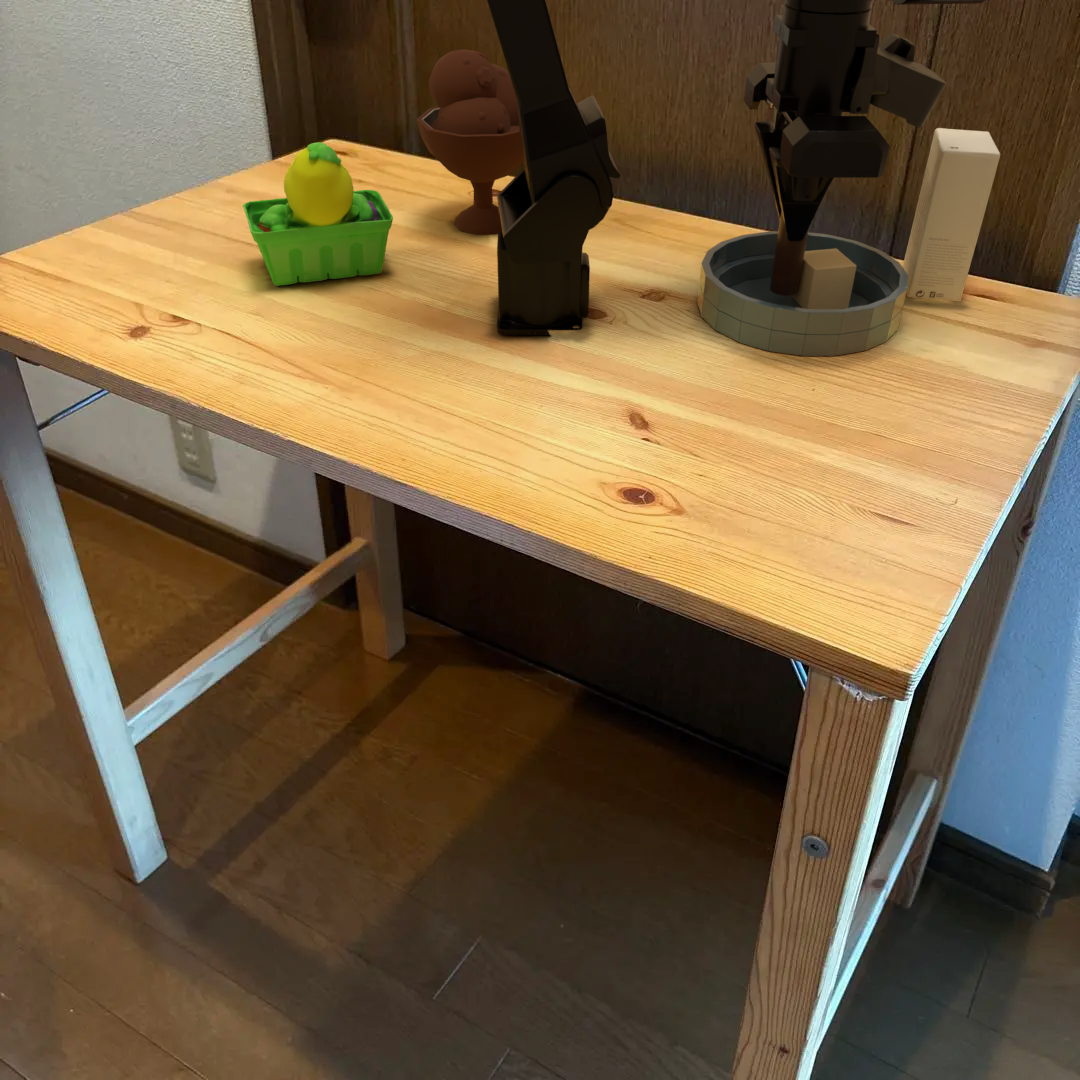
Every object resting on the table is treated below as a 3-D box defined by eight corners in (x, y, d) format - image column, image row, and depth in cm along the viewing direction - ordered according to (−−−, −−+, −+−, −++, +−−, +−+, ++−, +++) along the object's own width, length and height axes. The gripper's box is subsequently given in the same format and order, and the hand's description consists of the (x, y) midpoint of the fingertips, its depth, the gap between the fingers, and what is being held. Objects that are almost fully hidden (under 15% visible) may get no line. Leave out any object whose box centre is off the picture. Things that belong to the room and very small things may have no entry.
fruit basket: (381, 244, 92) (369, 112, 85) (403, 283, 86) (391, 143, 79) (251, 260, 89) (227, 124, 83) (263, 301, 83) (238, 158, 76)
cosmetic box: (960, 308, 82) (1002, 154, 75) (905, 303, 83) (941, 150, 75) (952, 277, 87) (990, 129, 80) (899, 273, 88) (933, 126, 80)
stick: (772, 296, 80) (794, 150, 73) (766, 284, 82) (788, 141, 75) (800, 296, 80) (825, 151, 73) (794, 284, 82) (818, 141, 75)
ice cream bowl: (502, 254, 90) (498, 71, 81) (401, 229, 95) (386, 53, 86) (564, 217, 98) (567, 44, 88) (467, 195, 102) (460, 29, 93)
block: (806, 312, 80) (814, 269, 78) (788, 293, 83) (795, 251, 81) (848, 308, 81) (857, 265, 79) (828, 290, 83) (836, 248, 81)
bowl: (712, 363, 75) (718, 312, 72) (686, 277, 87) (691, 231, 84) (922, 363, 75) (935, 312, 72) (867, 277, 87) (877, 230, 84)
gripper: (999, 37, 61) (936, 285, 71) (907, -20, 76) (866, 191, 86) (811, 37, 61) (774, 285, 71) (756, -20, 76) (731, 192, 86)
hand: (791, 234), depth 78 cm, fingers closed on stick, 2 cm apart
